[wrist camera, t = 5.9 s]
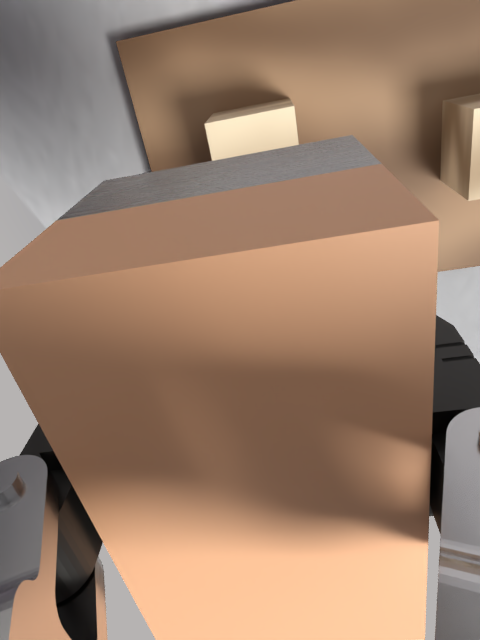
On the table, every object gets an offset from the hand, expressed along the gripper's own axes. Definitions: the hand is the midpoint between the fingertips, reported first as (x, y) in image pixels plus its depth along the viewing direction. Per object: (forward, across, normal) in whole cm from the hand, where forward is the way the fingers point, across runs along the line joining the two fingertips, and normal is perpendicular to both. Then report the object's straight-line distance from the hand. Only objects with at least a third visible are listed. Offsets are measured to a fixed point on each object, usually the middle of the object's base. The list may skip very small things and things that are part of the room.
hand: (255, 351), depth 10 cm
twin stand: (+18, -6, 0) cm, 19 cm away
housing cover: (-2, 0, 0) cm, 2 cm away
